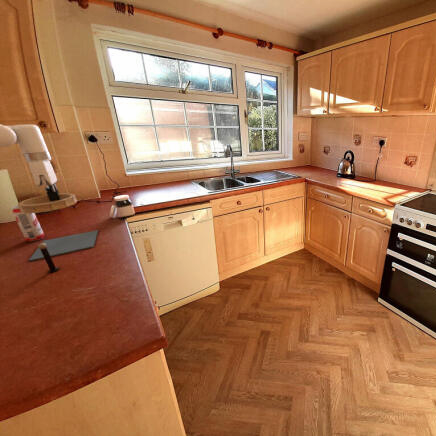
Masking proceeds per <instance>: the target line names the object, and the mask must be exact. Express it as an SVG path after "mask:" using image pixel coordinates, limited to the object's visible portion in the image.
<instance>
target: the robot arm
mask: <svg viewBox="0 0 436 436" xmlns="http://www.w3.org/2000/svg"><path fill="white" fill-rule="evenodd" d="M17 144H18V147H19V149H20V151H21V153H22V155H23V158H24V160H25V162H26V163H28V165H29V170H30V172H31V174H32V178H33V180H34V184H35V185H36V186H37V187H41V186H42V187H43V189H44V190H45V193H46V195H48V197H49V200H50V201H57V200H60V198H59V196H58V194H60V192H59V190H58V186H57V184H56V182H58V177H57V175H56V172H55V170H54V168H53V165H52V163H51V162H50V161H51V160H52V157H51V154H50V151H49V150H48V147H47V144H46V142H45V139H44V136H43V134H42V132H41V130H40V128H39V126H38V125H37V124H32V123H30V124H28V123H27V124H14V125H5V124H1V123H0V147H5V148H6V147H11V146H13V145H17Z"/></svg>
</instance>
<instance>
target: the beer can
mask: <svg viewBox="0 0 436 436" xmlns="http://www.w3.org/2000/svg"><path fill="white" fill-rule="evenodd" d="M12 215H13V216H14V218H15V221H16V223H17V225H18V227H19V230H20V231H21V233H22V236H23V237H24V239H25V241H26V242H29V243H30V242H31V243H32V242H37V241H40V240H43V239H44V238H45V233H44V230H43V228H42V226H41V224H40V222H39V220H38V218H37V216H36V213H23V212H21V211H20V209H19V207H18V205H17V206H14V207H12Z"/></svg>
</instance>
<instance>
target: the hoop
mask: <svg viewBox="0 0 436 436" xmlns="http://www.w3.org/2000/svg"><path fill="white" fill-rule="evenodd" d="M58 196H59V198H60V200H57V201H50V200H49V197H48V195H47V194H44V195H40V196H35V197H31V198H28V199H24V200H22V201H20V202H18V203H17V206H18V207H19V209H20V211H21V212H23V213H35V214H39V213H45V212H46V213H47V212H52V211H57V210H61V209H65V208H68V207H70V206H74V205H76V204H77V202H78V199H77V197H76V194H74V193H71V192H70V193H69V192H64V193H59V194H58Z"/></svg>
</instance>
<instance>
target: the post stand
mask: <svg viewBox="0 0 436 436" xmlns="http://www.w3.org/2000/svg"><path fill="white" fill-rule="evenodd" d="M46 247H47V245H46V244H45V243H42V242H40V243H38V245H37V249H38V248H39V249H40V250H41V252H42V254H43V256H44V258H43V259H44V260H45V263H46V265H47V267H48V271H47V272H48V273H50V274H52V273H55V272H57V271H59V267H58V266H56V265H55V262H54V261H53V259H52V258H53V257H51V256H50V254H49V252H48V250H47V248H46Z"/></svg>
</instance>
